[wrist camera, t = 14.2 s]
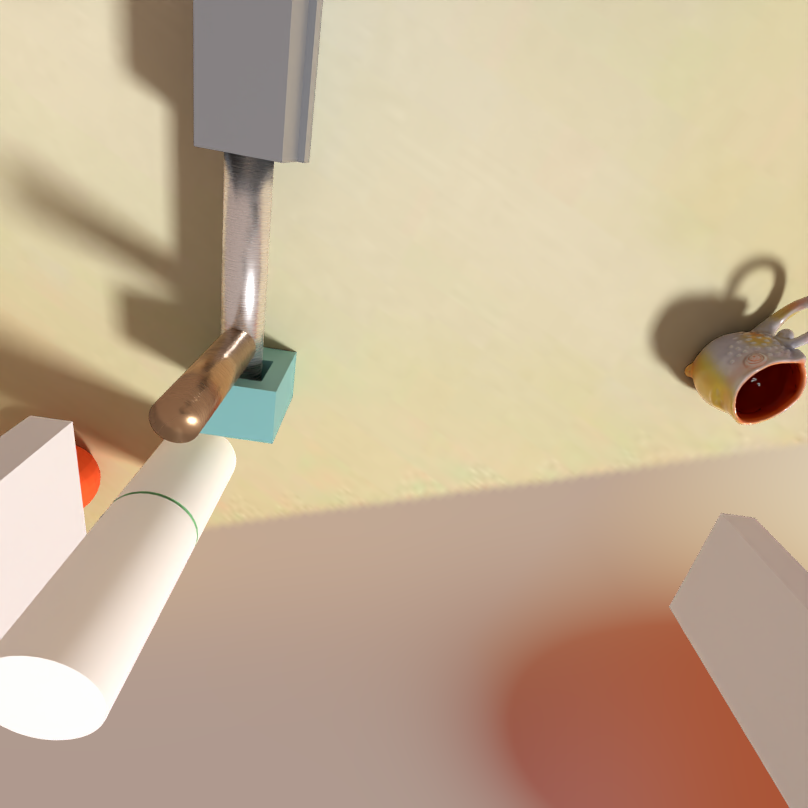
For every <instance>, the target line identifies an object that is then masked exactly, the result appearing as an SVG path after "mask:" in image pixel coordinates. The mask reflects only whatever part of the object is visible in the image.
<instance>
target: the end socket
mask: <svg viewBox="0 0 808 808" xmlns="http://www.w3.org/2000/svg"><path fill="white" fill-rule="evenodd" d="M295 363H296V352H292V351H286V350H280V349H273V348H267V347H263V361H262V378H261V381H254V380H248V379H241V378H238V380H237V381H236V382H235V384H234V385H233V387H232V388H231V389H230V391H229V392H228V394H227V395H226V397H225V398H224V399H223V401H222V402H221V404H220V405H219V406H218V408H217V409H216V411H215V412H214V413H213V415H212V416H211V418H210V419H209V421H208V422H207V423H206V425H205V426H204V428H203V429H202V430H201V432H200V433H202V434H209V435H216V436H223V437H230V438H237V439H244V440H251V441H258V442H265V443H273V441H274V439H275V436H276V434H277V432H278V429H279V427H280V425H281V422H282V420H283V418H284V416H285V413H286V411H287V409H288V406H289V404H290V402H291V399H292V397H293V385H294V374H295Z"/></svg>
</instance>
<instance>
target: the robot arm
mask: <svg viewBox="0 0 808 808" xmlns="http://www.w3.org/2000/svg"><path fill="white" fill-rule="evenodd" d="M85 536H86V527H85V519H84V511H83V502H82V494H81V486H80V478H79V470H78V462H77V454H76V446H75V437H74V429H73V421H66V420H59V419H52V418H45V417H38V416H31V415H30V416H28V417H27V418H26V419H24V420H23V421H21V422H20V423H19V424H17V425H16V426H14V427H13V428H12V429H10V430H9V431H7V432H6V433H5V434H3V435H2V436H0V640H1V639H2V638H3V636H4V635H5V634H6V633H7V631H8V630H9V629H10V628H11V627H12V625H13V624H14V623H15V622H16V620H17V619H18V618H19V617H20V616H21V614H22V613H23V612H24V611H25V609H26V608H27V607H28V606H29V604H30V603H31V602H32V601H33V600H34V598H35V597H36V596H37V595H38V593H39V592H40V591H41V590H42V589H43V587H44V586H45V585H46V584H47V582H48V581H49V580H50V579H51V578H52V576H53V575H54V574H55V573H56V571H57V570H58V569H59V568H60V567H61V565H62V564H63V563H64V562H65V560H66V559H67V558H68V557H69V555H70V554H71V553H72V552H73V551H74V549H75V548H76V547H77V546H78V544H79V543H80V542H81V541H82V540H83V538H84V537H85ZM669 607H670V609H671V611H672V612H673V614H674V616H675V617H676V619H677V620H678V622H679V624H680V625H681V627H682V629H683V630H684V632H685V634H686V636H687V637H688V639H689V641H690V642H691V644H692V646H693V647H694V649H695V650H696V652H697V654H698V656H699V657H700V659H701V661H702V662H703V664H704V666H705V667H706V669H707V671H708V672H709V674H710V676H711V677H712V679H713V681H714V682H715V684H716V686H717V687H718V689H719V691H720V692H721V694H722V696H723V697H724V699H725V701H726V703H727V704H728V706H729V708H730V709H731V711H732V713H733V714H734V716H735V717H736V719H737V721H738V723H739V724H740V726H741V728H742V729H743V731H744V733H745V734H746V736H747V738H748V739H749V741H750V743H751V744H752V746H753V748H754V749H755V751H756V753H757V754H758V756H759V758H760V759H761V761H762V763H763V764H764V766H765V768H766V769H767V771H768V773H769V774H770V776H771V778H772V779H773V781H774V783H775V784H776V786H777V788H778V789H779V791H780V793H781V794H782V796H783V798H784V799H785V801H786V803H787V804H788V806H789V808H808V572H807V571H806V570H805V569H804V568H803V567H802V566H801V565H800V564H799V563H798V562H797V561H796V560H795V559H794V558H793V557H792V556H791V554H790V553H789V552H787V550H785V548H784V547H783V546H782V545H781V544H780V543H779V542H778V541H777V540H776V539H775V538H774V537H773V536H772V535H771V534H770V533H769V532H768V531H767V530H766V529H765V528H764V527H763V526H762V525H761V524H760V523H759V522H758V521H757V520H756V519H755V518H752V517H745V516H738V515H731V514H724V513H721V514H720V516H719V518H718V519H717V521H716V523H715V525H714V527H713V528H712V530H711V532H710V534H709V536H708V538H707V539H706V541H705V543H704V545H703V546H702V548H701V550H700V552H699V554H698V555H697V557H696V559H695V561H694V563H693V565H692V566H691V568H690V570H689V572H688V574H687V576H686V577H685V579H684V581H683V583H682V585H681V586H680V588H679V590H678V592H677V593H676V596H675V597H674V599H673V601H672V603H671V604H670V606H669Z"/></svg>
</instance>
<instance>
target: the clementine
mask: <svg viewBox="0 0 808 808" xmlns="http://www.w3.org/2000/svg"><path fill="white" fill-rule="evenodd" d="M75 446H76V445H75ZM76 454H77V462H78V470H79V478H80V486H81V494H82V502H83V508H84V507H85V506H86V505H87V504H89V503H90V501H91V500H92V499H93V498H94V496H95V494H96V493H97V491H98V488H99V485H100V470H99V467H98V465H97V462H96V461H95V459H94V458H93V456H92V455H91V454H89V453H88V452H87V451H86V450H84V449H83V448H81V447H78V446H76Z"/></svg>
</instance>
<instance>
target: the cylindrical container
mask: <svg viewBox="0 0 808 808" xmlns="http://www.w3.org/2000/svg"><path fill="white" fill-rule="evenodd" d="M235 466H236V456H235V452H234V449H233V447H232V445H231V444H230V442H229V441H228V440H227V439H226V438H225V437H223V436H216V435H209V434H202V433H199V435H198V436H197V437H196V438H195V439H193V440H192V441H190V442H186V443H173V442H170V441H167V440H165V439H164V440H163V442H162V443H161V444H160V445H159V446H158V448H157V449H156V450H155V451H154V453H153V454H152V455H151V456H150V457H149V459H148V460H147V461H146V462H145V464H144V465H143V466H142V467H141V468H140V470H139V471H138V472H137V473H136V475H135V476H134V477H133V478H132V479H131V481H130V482H129V483H128V484H127V486H126V487H125V488H124V489H123V490H122V492H121V493H120V494H119V495H118V497H117V498H116V499H115V500H114V502H113V503H112V504H111V505H110V506H109V508H108V509H107V510H106V511H105V513H104V514H103V515H102V516H101V517H100V519H99V520H98V521H97V522H96V524H95V525H94V526H93V527H92V528H91V530H90V531H89V532H88V533H87V535H86V536H85V537H84V538H83V540H82V541H81V542H80V543H79V544H78V546H77V547H76V548H75V549H74V551H73V552H72V553H71V554H70V555H69V557H68V558H67V559H66V560H65V562H64V563H63V564H62V565H61V567H60V568H59V569H58V570H57V571H56V573H55V574H54V575H53V576H52V578H51V579H50V580H49V581H48V582H47V584H46V585H45V586H44V587H43V589H42V590H41V591H40V592H39V593H38V595H37V596H36V597H35V598H34V600H33V601H32V602H31V603H30V604H29V606H28V607H27V608H26V609H25V611H24V612H23V613H22V614H21V616H20V617H19V618H18V619H17V620H16V622H15V623H14V624H13V625H12V627H11V628H10V629H9V630H8V631H7V633H6V634H5V635H4V636H3V638H2V639H1V640H0V725H1V726H3V727H5V728H7V729H9V730H12V731H14V732H17V733H19V734H22V735H26V736H29V737H34V738H39V739H47V740H69V739H74V738H80V737H83V736H86V735H88V734H90V733H92V732H94V731H96V730H97V729H98V728H99V727H100V726H101V725H102V724H103V722H104V721H105V719H106V717H107V715H108V713H109V711H110V710H111V708H112V706H113V704H114V702H115V700H116V698H117V696H118V694H119V692H120V690H121V688H122V686H123V685H124V682H125V680H126V679H127V676H128V675H129V673H130V671H131V669H132V667H133V665H134V663H135V661H136V659H137V657H138V655H139V654H140V652H141V650H142V648H143V645H144V644H145V642H146V640H147V638H148V636H149V634H150V632H151V630H152V628H153V627H154V625H155V623H156V621H157V619H158V617H159V614H160V613H161V611H162V609H163V607H164V605H165V603H166V601H167V599H168V597H169V596H170V594H171V592H172V590H173V588H174V586H175V584H176V582H177V580H178V578H179V576H180V574H181V572H182V570H183V568H184V567H185V565H186V562H187V561H188V559H189V557H190V555H191V553H192V551H193V549H194V547H195V545H196V543H197V541H198V539H199V538H200V535H201V534H202V532H203V530H204V528H205V526H206V524H207V522H208V520H209V518H210V516H211V514H212V512H213V510H214V508H215V507H216V505H217V503H218V501H219V499H220V497H221V495H222V493H223V491H224V489H225V487H226V485H227V483H228V481H229V479H230V477H231V476H232V474H233V472H234V469H235Z"/></svg>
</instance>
